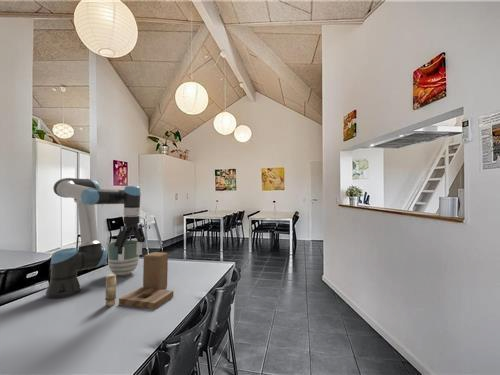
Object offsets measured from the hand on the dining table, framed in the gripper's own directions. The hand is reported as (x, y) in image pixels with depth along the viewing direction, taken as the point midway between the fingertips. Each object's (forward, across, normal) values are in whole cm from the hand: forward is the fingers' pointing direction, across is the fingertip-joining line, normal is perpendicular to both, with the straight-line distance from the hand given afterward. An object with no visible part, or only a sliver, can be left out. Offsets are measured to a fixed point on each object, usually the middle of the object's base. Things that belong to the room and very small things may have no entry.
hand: (130, 257), depth 130 cm
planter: (+22, +36, +33) cm, 54 cm away
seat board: (+21, +1, -10) cm, 23 cm away
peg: (+21, -7, +5) cm, 23 cm away
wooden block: (+22, +16, -4) cm, 28 cm away
